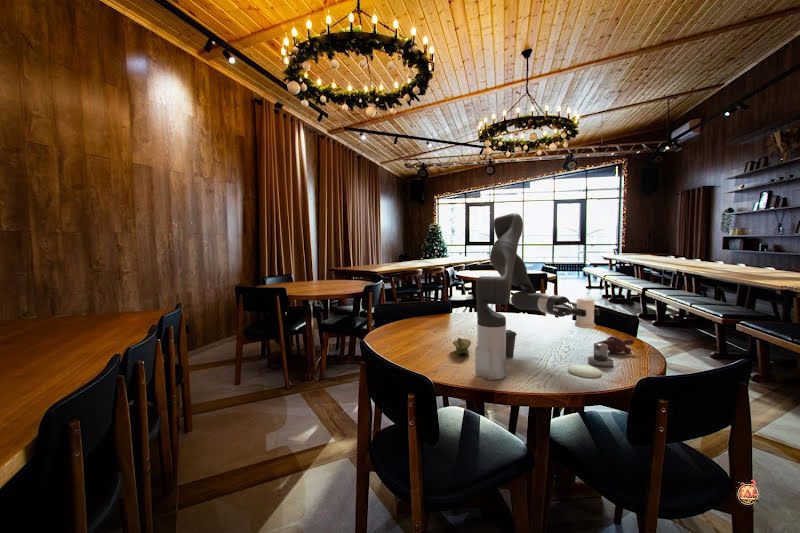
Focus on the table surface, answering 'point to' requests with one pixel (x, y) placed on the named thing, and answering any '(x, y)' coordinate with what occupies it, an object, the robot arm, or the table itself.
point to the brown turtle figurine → (617, 344)
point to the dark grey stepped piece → (600, 356)
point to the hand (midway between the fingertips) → (591, 312)
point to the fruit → (462, 346)
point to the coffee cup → (510, 343)
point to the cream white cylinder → (589, 318)
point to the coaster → (584, 371)
